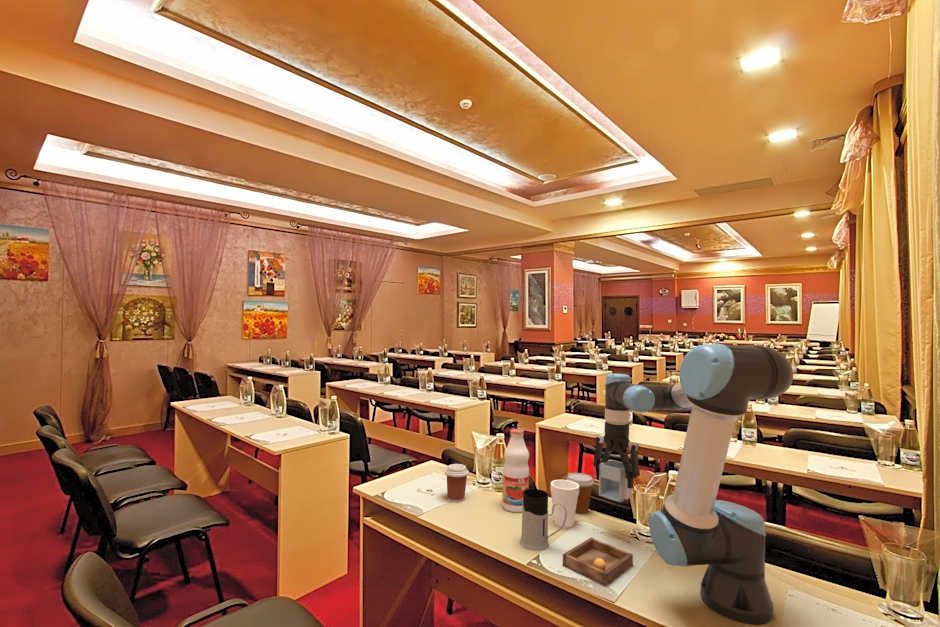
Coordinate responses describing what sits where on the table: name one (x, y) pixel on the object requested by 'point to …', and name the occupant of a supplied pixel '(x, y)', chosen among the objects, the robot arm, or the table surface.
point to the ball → (600, 564)
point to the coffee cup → (456, 482)
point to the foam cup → (564, 501)
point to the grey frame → (612, 480)
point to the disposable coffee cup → (582, 490)
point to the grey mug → (536, 519)
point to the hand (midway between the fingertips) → (615, 493)
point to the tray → (592, 549)
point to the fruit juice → (515, 472)
